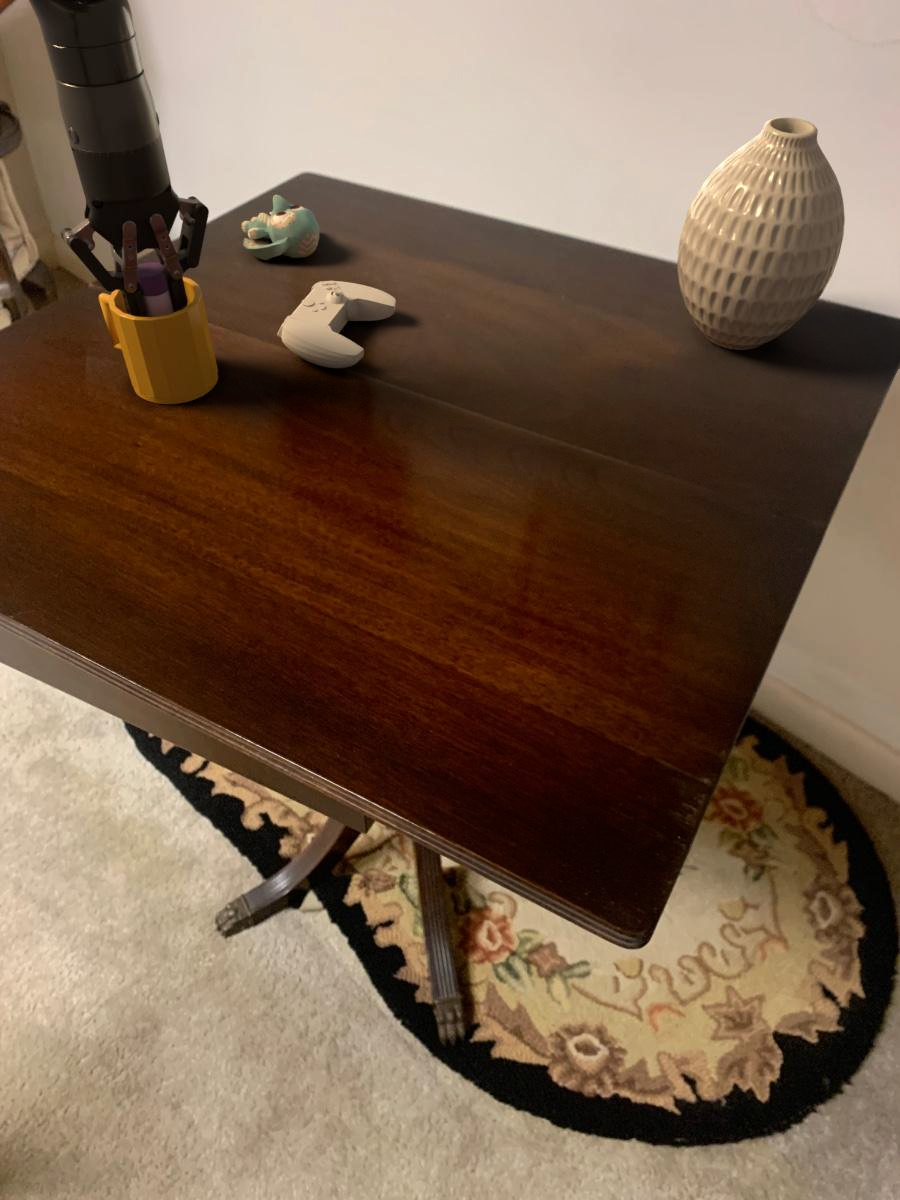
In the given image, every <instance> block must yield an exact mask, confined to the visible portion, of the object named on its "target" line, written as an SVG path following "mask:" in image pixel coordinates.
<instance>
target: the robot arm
mask: <svg viewBox="0 0 900 1200" xmlns="http://www.w3.org/2000/svg"><path fill="white" fill-rule="evenodd" d="M28 3H29V4H30V6H31V8H32V10H33V12H34V14H35V16H36V18H37V21H38V24H39V27H40V31H41V34H42V38H43V41H44V46H45V49H46V53H47V56H48V60H49V63H50V67H51V70H52V71H51V72H52V74H53V76H54V82H55V86H56V87H55V88H56V93H57V100H58V105H59V110H60V113H61V117H62V121H63V124H64V128H65V131H66V135H67V138H68V139H67V140H68V142H69V146H70V149H71V154H72V156H73V159H74V163H75V166H76V171H77V174H78V177H79V181H80V185H81V188H82V191H83V195H84V198H85V208H84V212H83V213H84V215H83V216H84V219H83V220H82V221H80V223H78V224H77V225H75V226H74V227H73V228H71V227H64V228H62V230H61V232H60V237H61V240H63V241H64V242H65V244H66V245H67V246H68V248H69V249H71V251H72V252H73V253H74V254H75V256H77V258H78V259H79V260H80V261H81V262H82V264H83V265H84V266H85V267H86V268H87V269H88V271H89V272H90V273H91V275H92V276H93V277H94V278H95V279H96V280H97V281H98V282H99V283H100V285H101V286H102V287H103V288H104V290H106V292H109V293H112V292H113V291H115V290H121V292H122V296H123V300H124V303H125V306H126V310H127V313H128V314H129V315H133V316H136V317H148V316H147V312H146V308H145V304H144V300H143V296H142V292H141V290H140V289H139V288H138V287H137V272H136V269H137V268H138V265H139V261H138V254H140V253H142V252H143V251H145V250H154V252H155V255H156V257H157V259H158V261H159V263H160V264H162V265H163V266H164V267H165V271H166V276H167V280H168V284H169V293H170V297H171V302H172V306H173V310H174V312H177V311H179V310H182V309H184V307H186V306H187V303H188V300H187V296H186V291H185V287H184V282H183V277H184V274H185V273H186V272H187V271H188V270H189V269H195V268H197V267H198V266H199V265H200V260H201V255H202V251H203V244H204V239H205V235H206V230H207V225H208V219H209V214H210V210H209V207H208V206H206V205H205V204H204V203H203V202H202V201H200V200H199V199H198V198H197V197H196V196H194V195H193V196H192V195H191V196H188V197H187V198H186V197H185V198H184V197H179V195H178V193H176V192H175V190H174V188H173V186H172V182H171V176H170V172H169V167H168V163H167V158H166V153H165V148H164V144H163V143H164V142H163V137H162V134H161V133H162V132H161V129H160V118H159V114H158V112H157V110H156V105H155V101H154V98H153V94H152V91H151V88H150V85H149V82H148V79H147V77H146V73H145V69H144V65H143V64H144V63H143V60H142V55H141V51H140V46H139V40H138V37H137V32H136V26H135V21H134V18H133V13H132V8H131V5H130V3H129V0H28ZM177 216H179V219H180V220H181V221H182V223H181V227H180V233H179V239H178V244H177V249H176V248H175V246H174V244H173V241H172V239H171V236H170V234H171V231H172V229H173V226H174V223H175V221H176V219H177ZM94 233H97V234H98V235H99V236H101V237H102V238H103V239H104V240H105V241H107V242H108V243H109V244H110V250H111V256H112V259H113V267H114V270H108V269H106V268H105V266H104V265H103V263H102V262H101V261H100V260H99V259H98V257H97V256H96V255H95V253H93V252H92V251H93V250H95V248H96V242H95V240H94V238H93V237H94Z"/></svg>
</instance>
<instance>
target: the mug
mask: <svg viewBox="0 0 900 1200" xmlns="http://www.w3.org/2000/svg"><path fill="white" fill-rule="evenodd" d="M183 282H184V287H185V291H186V296H187V300H188V303H187V306H186V307H184V309H182V310H179V311H177V312H174V313H171V314H169V315H163V316H156V317H136V316H133V315H129V314H128V313H127V310H126V306H125V303H124V300H123V296H122V292H121V290H115V291H113V292H111V294H108V293H106V292H102V293H100V294H99V295H98V302H99V305H100V307H101V311H102V315H103V318H104V321H105V324H106V328H107V332H108V334H109V339H110V342H111V344H112V347H113V348H114V349H116V350H119V351H121V352H122V355H123V358H124V362H125V366H126V369H127V373H128V375H129V380H130V383H131V386H132V388H133V391H134V392H135V394H136V395H137V396H138V397H140V398H141V399H143V400H145V401H147V402H150V403H154V404H160V405H177V404H184V403H187V402H191V401H194V400H196V399H199V398H202V397H204V396H205V395H207V394H208V393H209V392H211V391H212V390H213V389H214V388H215V386H216V385H217V383H218V380H219V368H218V364H217V359H216V355H215V349H214V344H213V340H212V333H211V329H210V324H209V320H208V315H207V310H206V306H205V301H204V295H203V292H202V289H201V286H200V284H198V283H197V282H196V281H194V280H193V279H191V278H190V277H185V276H183Z"/></svg>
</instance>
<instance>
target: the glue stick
mask: <svg viewBox="0 0 900 1200" xmlns="http://www.w3.org/2000/svg"><path fill="white" fill-rule="evenodd" d="M136 272H137V287H138V288H139V289H140V290H141V292H142V296H143V300H144V304H145V308H146V312H147V316H148V317H156V316H163V315H169V314H171V313H174V310H173V306H172V302H171V297H170V293H169V284H168V280H167V276H166V271H165V267H164V266H163V265H162V264H160V262H154V261H149V262H143V263H140V264H138V268H137V269H136Z"/></svg>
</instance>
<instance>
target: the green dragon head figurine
mask: <svg viewBox="0 0 900 1200" xmlns="http://www.w3.org/2000/svg"><path fill="white" fill-rule="evenodd" d="M272 205H273V206H272V207H273V208H272V211H270V212H269V214H268V213H265V212H259V213H258V214H257V216H253V217H252V218H251V219H250V220H244V221H243V222H242V223H241V229H242V232H243V233H246V234H247V236H248V238H247V237H244V238H243V241H242V246H243V247H244V249H245V250H246V251H247V252H248V253H249V254H251V256H253V257H254V258H257V259H258V260H259V259H260V260H264V261H269V260H270V259H272V258H276V257H278V256H282V255H283V256H287V257H289V258H292V259H298V258H307V257H309V256H311V255H312V254H313V253H314V252H315V251H316V250H317V247H318V246H319V245H318V244H319V240H320V233H321V231H320V229H321V227H320V224H319V223H318V222H317V219H316V217H315V214H314V213H313V211H312V210H311V209H309V208H306V207H304V206H301V205H298V204H297V205H296V204H295V205H294V204H292V203H290V202H289V201H287V200H286V198H284V197H283V196H281V195H279V194H274V195H273V197H272ZM262 238H264V239H270V240H271V242H272V243H269V244H265V243H262V242H259V241H256V240H258V239H262Z"/></svg>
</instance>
